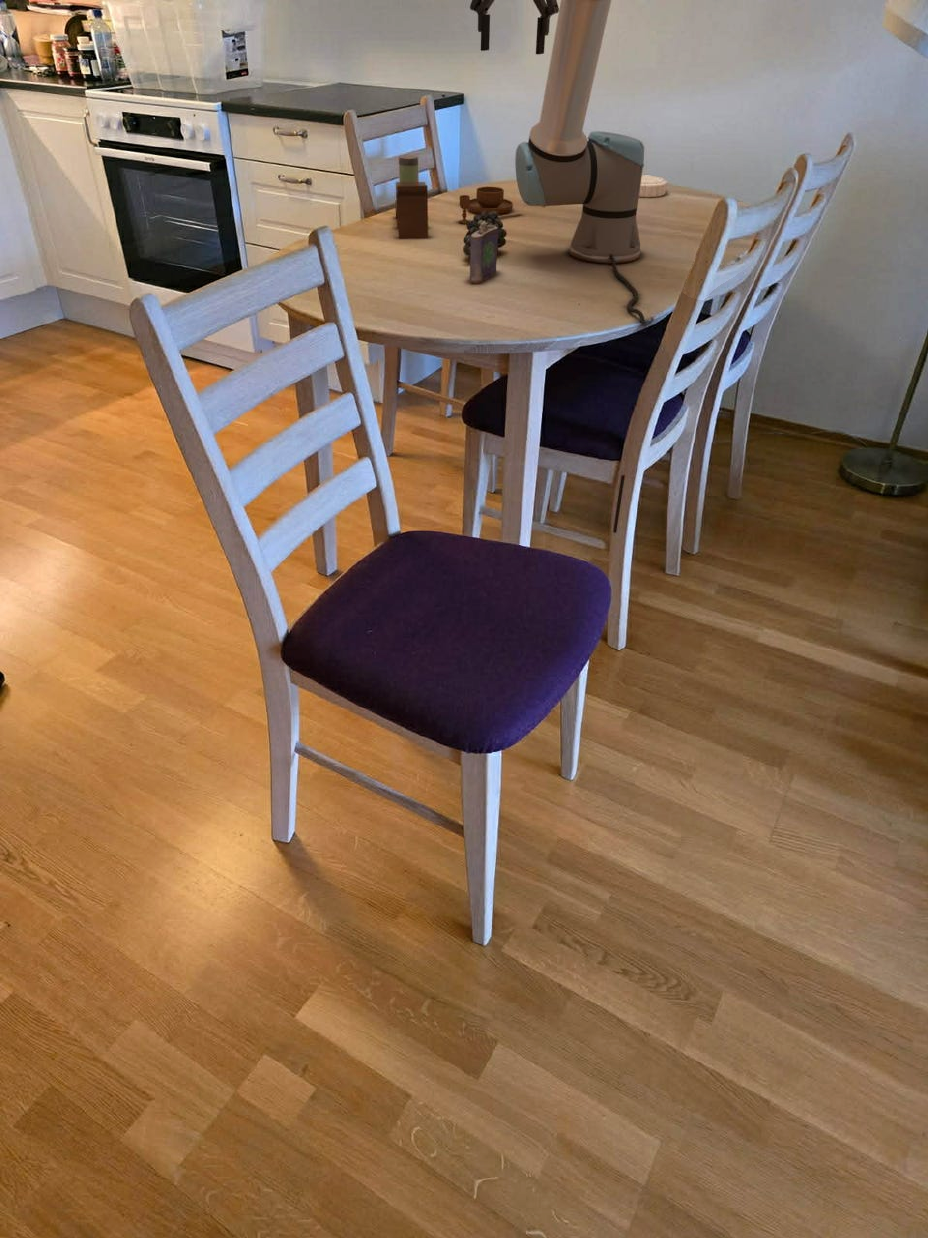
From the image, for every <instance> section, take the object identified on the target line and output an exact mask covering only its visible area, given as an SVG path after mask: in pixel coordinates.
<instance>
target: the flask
mask: <svg viewBox="0 0 928 1238" xmlns="http://www.w3.org/2000/svg"><path fill="white" fill-rule="evenodd" d="M482 221H483V220H481V221H479V222H478V224H479V223H480V222H481V223H480V224H481V225H480V227H479V229H480V230H478V231H476V232H475V233H473V234H472V235H471V255H470V258H469V261H470V262H469V263H470V264H469V283H471V284H476V285H477V284H478V283H483V281H486V280H488V279H489V278H491V277H493V276H494V275H497V259H498V258H497V257H498V252H497V242H498V227H495V226H491V225H487V226H486V224H488V223H486V222H485V221H483V222H482Z"/></svg>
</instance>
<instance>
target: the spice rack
mask: <svg viewBox="0 0 928 1238" xmlns="http://www.w3.org/2000/svg"><path fill="white" fill-rule="evenodd" d="M428 193H429V191H428V185H427V183H426V181H419V182H399V181H396V182H395V199H396V200H395V201H394V203H395V204H394V206H395V207H394V209H395V219H396V226H397V227H396V228H397V230H398V239H428V238H429V204H428V203H429V202H428V201H429V200H428V199H429V198H428Z"/></svg>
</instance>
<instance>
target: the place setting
mask: <svg viewBox="0 0 928 1238" xmlns="http://www.w3.org/2000/svg"><path fill="white" fill-rule="evenodd" d="M475 196H476V197H475V198H471V196H470V195H467V194H462V195H459V207H460V209H462V213H461V214H462V219H461V220H459V221H458V224H460V225H467V223H469V222H470V221H471V220H468V219H467V216H468V213H467V210H469V211H470V212H472V213H474V214H479V215H481V214H482V212H483V211H487V212H489V213H490V212H492V211H496V212H497V213H498V215H501V216H499V217H498V220H501V218H508V217H509V218H510V217H518V216H521V215H522V214H521V213H519V214H509V215H503V214H507V213H509V212H510V211H511V210H513V206H514V202H513V201H511V200H509V199H506V198H504V196H505V190H504V189H503V188H502V187H498V186H481V187H477V188H476V195H475Z"/></svg>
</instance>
